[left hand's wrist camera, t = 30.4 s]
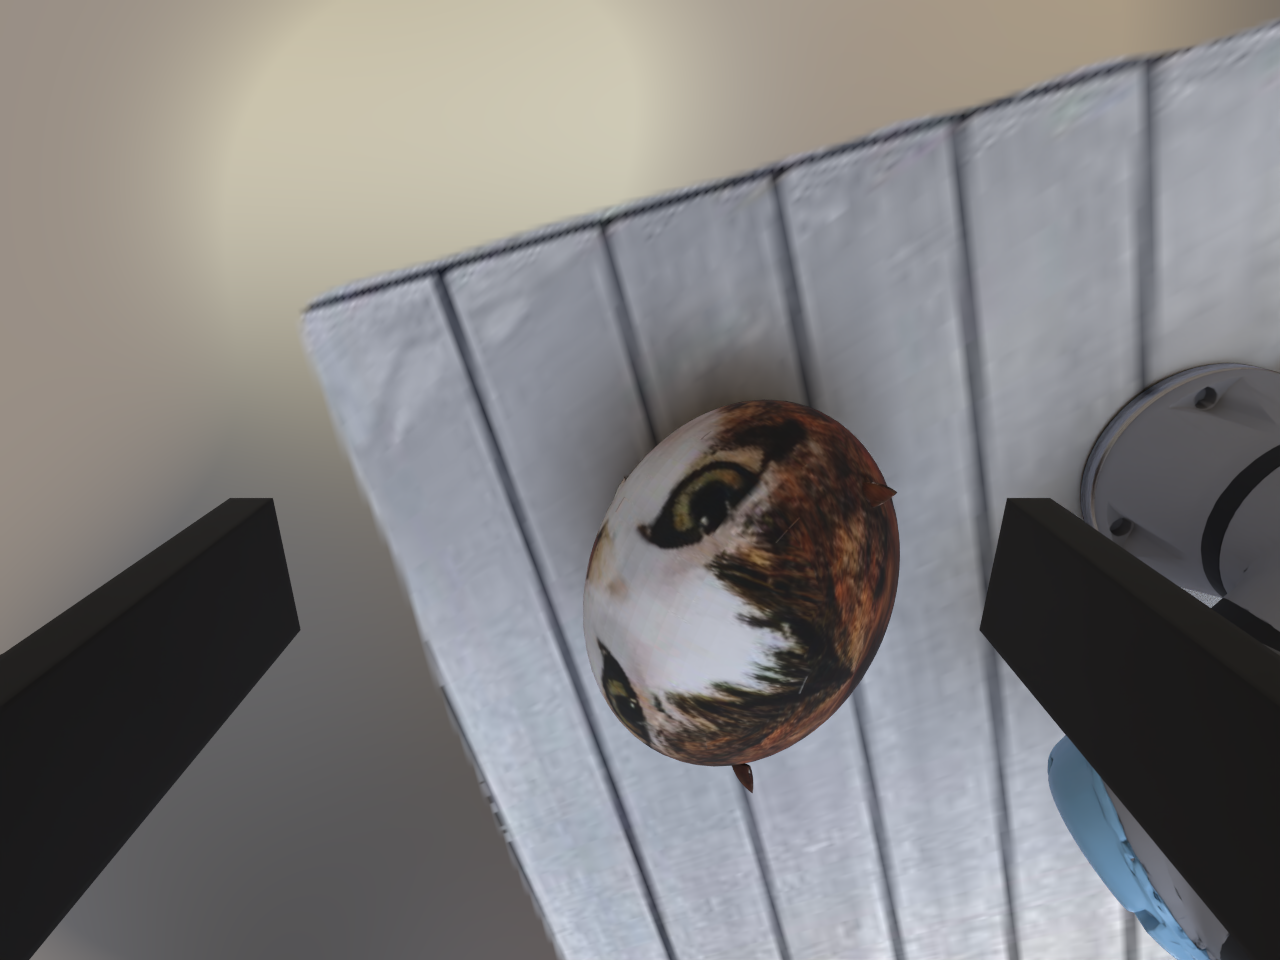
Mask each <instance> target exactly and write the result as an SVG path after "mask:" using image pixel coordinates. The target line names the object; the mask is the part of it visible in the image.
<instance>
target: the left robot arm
mask: <svg viewBox="0 0 1280 960" xmlns="http://www.w3.org/2000/svg"><path fill="white" fill-rule="evenodd" d="M1081 508H1082V513H1083V518H1084V521H1085V522H1084V521H1083V520H1081V519H1080V518H1078V517H1077V516H1075V515H1074V514H1072V513H1071V512H1070V511H1068V510H1067V509H1065V508H1064V507H1062V506H1061V505H1059V504H1058V503H1056V502H1055V501H1053V500H1052V499H1051V498H1007V502H1006V506H1005V511H1004V516H1003V521H1002V525H1001V530H1000V535H999V540H998V544H997V549H996V554H995V559H994V563H993V568H992V573H991V578H990V583H989V587H988V592H987V597H986V602H985V606H984V611H983V616H982V621H981V625H980V631H981V632H982V633H983V635H984V636H985V637H986V638H987V640H988V641H989V642H990V643H991V644H992V646H993V647H994V648H995V649H996V651H997V652H998V653H999V654H1000V655H1001V657H1002V658H1003V659H1004V660H1005V661H1006V663H1007V664H1008V665H1009V666H1010V668H1011V669H1012V670H1013V671H1014V672H1015V674H1016V675H1017V676H1018V677H1019V678H1020V680H1021V681H1022V682H1023V683H1024V685H1025V686H1026V687H1027V688H1028V689H1029V691H1030V692H1031V693H1032V694H1033V695H1034V697H1035V698H1036V699H1037V700H1038V702H1039V703H1040V704H1041V705H1042V706H1043V708H1044V709H1045V710H1046V711H1047V713H1048V714H1049V715H1050V716H1051V717H1052V719H1053V720H1054V721H1055V722H1056V723H1057V725H1058V726H1059V727H1060V728H1061V730H1062V731H1063V732H1064V733H1065V734H1066V735H1065V736H1064V737H1063V738H1062V739H1061V740H1060V741H1059V742H1058V743H1057V744H1056V745H1055V746H1054V748H1053V749H1052V751H1051V753H1050V756H1049V759H1048V775H1049V776H1048V781H1049V786H1050V790H1051V793H1052V796H1053V799H1054V801H1055V804H1056V806H1057V808H1058V810H1059V812H1060V815H1061V817H1062V818H1063V820H1064V822H1065V824H1066V826H1067V828H1068V830H1069V831H1070V833H1071V835H1072V836H1073V838H1074V840H1075V841H1076V843H1077V845H1078V846H1079V848H1080V849H1081V851H1082V852H1083V854H1084V855H1085V857H1086V858H1087V860H1088V861H1089V863H1090V864H1091V866H1092V867H1093V868H1094V870H1095V871H1096V872H1097V874H1098V875H1099V877H1100V878H1101V879H1102V881H1103V882H1104V883H1105V885H1106V886H1107V887H1108V889H1109V890H1110V891H1111V892H1112V894H1113V895H1114V896H1115V897H1116V899H1117V900H1118V901H1119V902H1120V903H1121V904H1122V905H1123V906H1124V907H1125V909H1126V910H1127V911H1131V912H1134V913H1135V915H1136V917H1137V918H1138V920H1139V921H1140V923H1141V924H1142V926H1143V927H1144V929H1145V930H1146V932H1147V933H1148V934H1149V935H1150V936H1151V937H1152V938H1153V939H1154V940H1155V941H1156V942H1157V943H1158V944H1159V945H1160V946H1161V947H1162V948H1164V949H1165V950H1166V951H1167V952H1168V953H1169V954H1171V955H1172V956H1173V957H1174V958H1176V959H1177V960H1280V373H1278V372H1275V371H1271V370H1267V369H1263V368H1259V367H1255V366H1250V365H1245V364H1234V363H1229V364H1213V365H1206V366H1201V367H1197V368H1193V369H1190V370H1186V371H1184V372H1181V373H1178V374H1176V375H1173V376H1171V377H1169V378H1167V379H1165V380H1163V381H1161V382H1159V383H1157V384H1155V385H1154V386H1152V387H1150V388H1149V389H1147V390H1146V391H1144V392H1143V393H1141V394H1140V395H1139V396H1137V397H1136V398H1135V399H1134V400H1132V401H1131V402H1130V403H1129V404H1128V405H1127V406H1126V407H1125V408H1123V409H1122V410H1121V411H1120V412H1119V413H1118V415H1117V416H1116V417H1115V418H1114V419H1113V420H1112V421H1111V422H1110V424H1109V425H1108V426H1107V427H1106V429H1105V430H1104V432H1103V433H1102V435H1101V436H1100V438H1099V439H1098V441H1097V443H1096V444H1095V446H1094V448H1093V450H1092V452H1091V454H1090V457H1089V459H1088V461H1087V464H1086V467H1085V470H1084V475H1083V479H1082V486H1081ZM1180 587H1183V588H1186V589H1190V590H1194V591H1198V592H1202V593H1206V594H1209V595H1213V596H1217V597H1221V598H1222V599H1221V600H1220V601H1219V602H1218V603H1217V604H1215V605H1214V606H1213V607H1212V608H1210V607H1208V606H1207V605H1205V604H1204V603H1202V602H1201V601H1199V600H1198V599H1196V598H1195V597H1194V596H1192V595H1191V594H1189V593H1188V592H1186V591H1185V590H1183V589H1182V588H1180ZM299 631H300V625H299V621H298V616H297V611H296V606H295V602H294V597H293V592H292V587H291V583H290V578H289V573H288V568H287V564H286V559H285V554H284V549H283V544H282V540H281V535H280V530H279V525H278V521H277V516H276V511H275V506H274V502H273V498H229V499H228V500H227V501H225V502H224V503H222V504H221V505H219V506H218V507H216V508H215V509H213V510H212V511H210V512H209V513H208V514H206V515H205V516H203V517H202V518H200V519H199V520H197V521H196V522H194V523H193V524H192V525H190V526H189V527H187V528H186V529H184V530H183V531H181V532H180V533H178V534H177V535H176V536H174V537H173V538H171V539H170V540H168V541H167V542H165V543H164V544H162V545H161V546H159V547H158V548H157V549H155V550H154V551H152V552H151V553H149V554H148V555H146V556H145V557H143V558H142V559H140V560H139V561H138V562H136V563H135V564H133V565H132V566H130V567H129V568H127V569H126V570H124V571H123V572H122V573H120V574H119V575H117V576H116V577H114V578H113V579H111V580H110V581H108V582H107V583H106V584H104V585H103V586H101V587H100V588H98V589H97V590H95V591H94V592H92V593H91V594H90V595H88V596H87V597H85V598H84V599H82V600H81V601H79V602H78V603H76V604H75V605H73V606H72V607H71V608H69V609H68V610H66V611H65V612H63V613H62V614H60V615H59V616H57V617H56V618H54V619H53V620H52V621H50V622H49V623H47V624H46V625H44V626H43V627H41V628H40V629H38V630H37V631H35V632H34V633H33V634H31V635H30V636H28V637H27V638H25V639H24V640H22V641H21V642H19V643H18V644H16V645H15V646H14V647H12V648H11V649H9V650H8V651H6V652H5V653H3V654H1V655H0V960H29V959H30V958H31V957H32V956H33V954H34V953H35V952H36V951H37V950H38V948H39V947H40V946H41V945H42V944H43V942H44V941H45V940H46V939H47V937H48V936H49V935H50V934H51V932H52V931H53V930H54V929H55V928H56V926H57V925H58V924H59V923H60V922H61V920H62V919H63V918H64V917H65V916H66V914H67V913H68V912H69V911H70V909H71V908H72V907H73V906H74V905H75V903H76V902H77V901H78V900H79V899H80V897H81V896H82V895H83V894H84V892H85V891H86V890H87V889H88V888H89V886H90V885H91V884H92V883H93V881H94V880H95V879H96V878H97V877H98V875H99V874H100V873H101V872H102V871H103V869H104V868H105V867H106V866H107V864H108V863H109V862H110V861H111V860H112V858H113V857H114V856H115V855H116V854H117V852H118V851H119V850H120V849H121V847H122V846H123V845H124V844H125V843H126V841H127V840H128V839H129V838H130V837H131V835H132V834H133V833H134V832H135V830H136V829H137V828H138V827H139V826H140V824H141V823H142V822H143V821H144V819H145V818H146V817H147V816H148V815H149V813H150V812H151V811H152V810H153V808H154V807H155V806H156V805H157V804H158V802H159V801H160V800H161V799H162V798H163V796H164V795H165V794H166V793H167V791H168V790H169V789H170V788H171V787H172V785H173V784H174V783H175V782H176V781H177V779H178V778H179V777H180V776H181V774H182V773H183V772H184V771H185V770H186V768H187V767H188V766H189V765H190V764H191V762H192V761H193V760H194V759H195V757H196V756H197V755H198V754H199V753H200V751H201V750H202V749H203V748H204V747H205V745H206V744H207V743H208V742H209V740H210V739H211V738H212V737H213V736H214V734H215V733H216V732H217V731H218V730H219V728H220V727H221V726H222V725H223V723H224V722H225V721H226V720H227V719H228V717H229V716H230V715H231V714H232V713H233V711H234V710H235V709H236V708H237V706H238V705H239V704H240V703H241V702H242V700H243V699H244V698H245V697H246V695H247V694H248V693H249V692H250V691H251V689H252V688H253V687H254V686H255V684H256V683H257V682H258V681H259V680H260V678H261V677H262V676H263V675H264V674H265V672H266V671H267V670H268V669H269V668H270V666H271V665H272V664H273V663H274V661H275V660H276V659H277V658H278V657H279V655H280V654H281V653H282V652H283V651H284V649H285V648H286V647H287V646H288V644H289V643H290V642H291V641H292V640H293V638H294V637H295V636H296V635H297V633H298V632H299Z"/></svg>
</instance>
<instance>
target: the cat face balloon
mask: <svg viewBox="0 0 1280 960" xmlns="http://www.w3.org/2000/svg"><path fill="white" fill-rule="evenodd" d="M896 493H897V492H896V491H895V490H893V489H891V488H890V487H888V486H887V485H886V482H885V480H884V477H883V475H882V473H881V471H880V470H879V468H878V466H877V464H876V462H875V461H874V459H873V458H872V457H871V455H870V454H869V452H868V451H867V450H866V448H865V447H864V445H863V444H862V443H861V442H860V441H859V440H858V439H857V438H856V437H855V436H854V435H853V434H852V433H851V432H850V431H849V430H847V429H846V428H845V427H844V426H842V425H841V424H840V423H839V422H837V421H836V420H834V419H832V418H830V417H829V416H827V415H825V414H823V413H822V412H820V411H817V410H815V409H812V408H810V407H807V406H804V405H800V404H796V403H792V402H787V401H777V400H754V401H745V402H739V403H735V404H731V405H727V406H723V407H720V408H718V409H715V410H713V411H710V412H708V413H705V414H703V415H700V416H699V417H697V418H695V419H693V420H691V421H690V422H688V423H686V424H685V425H683V426H681V427H680V428H678V429H677V430H675V431H674V432H672V433H671V434H670V435H669V436H667V437H666V438H665V439H664V440H662V441H661V442H660V443H659V444H658V445H657V446H656V447H655V448H654V449H653V450H652V451H651V452H650V453H648V454H647V455H646V456H645V457H644V458H643V460H642V461H641V462H640V463H639V464H638V465H637V467H636V468H635V469H634V470H633V471H632V473H631V474H630V475H629V477H628V478H627V479H626V481H625V477H624V479H623V481H622V482H621V484H620V486H619V487H618V489H617V492H616V494H615V497H614V500H613V502H612V503H611V505H610V507H609V508H608V511H607V513H606V515H605V517H604V519H603V522H602V524H601V526H600V528H599V531H598V534H597V537H596V539H595V542H594V545H593V549H592V552H591V556H590V560H589V564H588V568H587V575H586V581H585V588H584V599H583V625H584V635H585V642H586V649H587V653H588V657H589V661H590V665H591V668H592V671H593V674H594V677H595V679H596V682H597V684H598V686H599V689H600V691H601V693H602V695H603V696H604V698H605V700H606V702H607V703H608V705H609V707H610V708H611V710H612V711H613V713H614V714H615V715H616V717H617V718H618V719H619V721H620V722H621V723H622V724H623V725H624V726H625V727H626V728H627V729H628V730H629V731H630V732H631V733H632V734H633V735H634V736H635V737H637V738H638V739H639V740H641V741H642V742H643V743H645V744H646V745H647V746H649V747H650V748H652V749H654V750H656V751H657V752H659V753H661V754H663V755H666V756H668V757H671V758H674V759H676V760H679V761H682V762H686V763H690V764H695V765H704V766H730V765H732V767H733V770H734V772H735V774H736V776H737V778H738V779H739V780H740V782H741V783H742V784H743V785H744V786H745V787H746V788H747V789H748V790H749V791H750V792H751V793H753V775H752V770H751V767H750V766H749V765H747V764H745V763H748V762H753V761H756V760H759V759H763V758H765V757H768V756H771V755H773V754H776V753H778V752H780V751H782V750H784V749H786V748H789V747H790V746H792V745H793V744H795V743H797V742H798V741H800V740H802V739H803V738H805V737H806V736H808V735H809V734H810V733H812V732H813V731H814V730H816V729H817V728H818V727H819V726H820V725H822V724H823V723H824V722H825V721H826V720H828V719H829V718H830V717H831V716H832V715H833V714H834V713H835V712H836V711H837V710H838V708H839V707H840V706H841V705H842V704H843V703H844V702H845V701H846V699H847V698H848V697H849V696H850V694H851V693H852V692H853V690H854V689H855V688H856V686H857V685H858V684H859V682H860V681H861V680H862V678H863V676H864V675H865V673H866V671H867V669H868V668H869V666H870V664H871V663H872V661H873V659H874V657H875V655H876V653H877V651H878V649H879V647H880V645H881V642H882V640H883V637H884V635H885V632H886V629H887V626H888V623H889V620H890V617H891V614H892V610H893V606H894V602H895V597H896V592H897V585H898V577H899V563H900V543H899V532H898V524H897V518H896V513H895V509H894V505H893V501H892V497H893V496H894V495H895V494H896Z"/></svg>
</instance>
